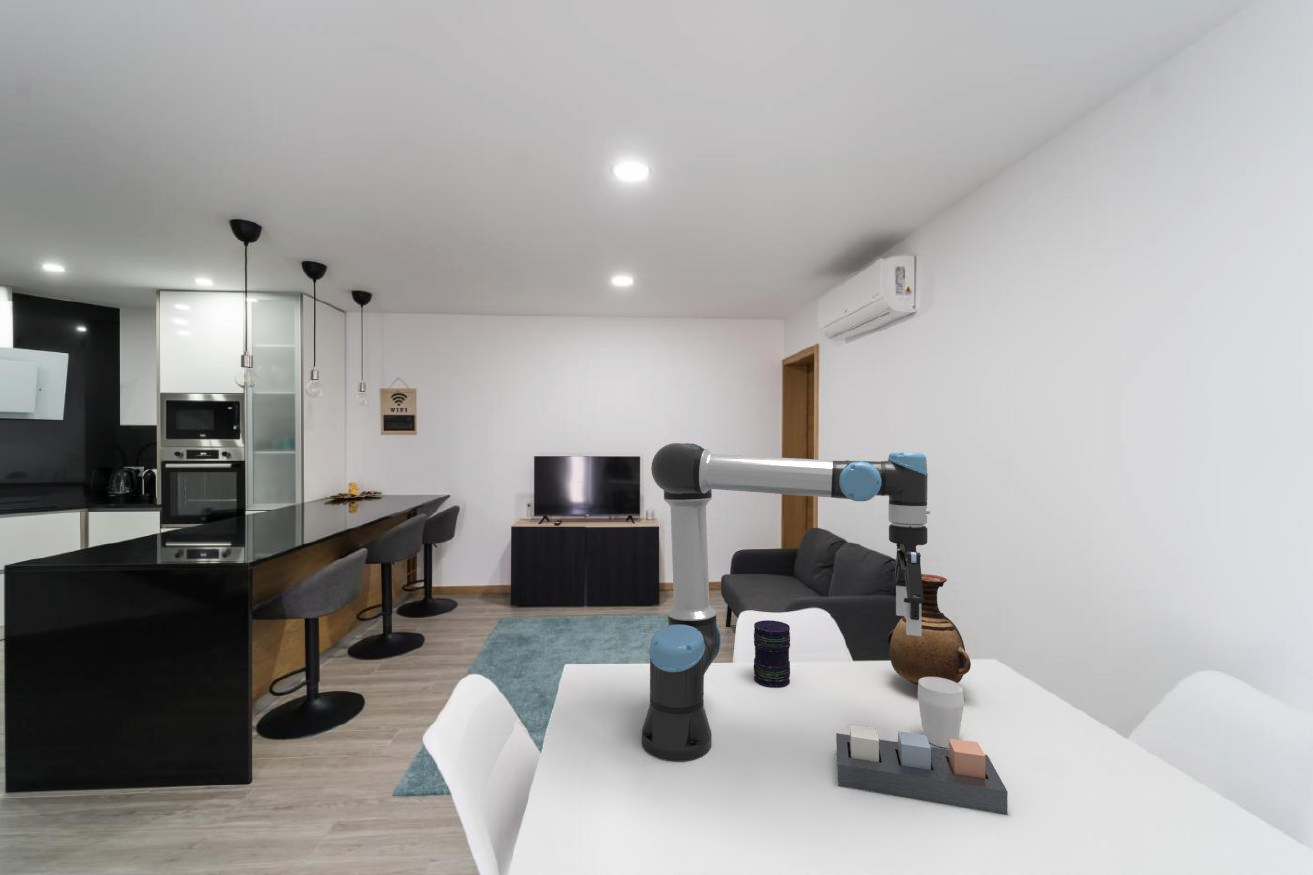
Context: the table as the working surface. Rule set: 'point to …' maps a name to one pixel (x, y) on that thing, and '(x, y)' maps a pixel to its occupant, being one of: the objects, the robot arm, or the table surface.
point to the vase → (929, 642)
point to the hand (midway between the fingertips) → (907, 624)
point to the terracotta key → (966, 758)
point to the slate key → (914, 750)
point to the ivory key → (864, 743)
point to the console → (920, 778)
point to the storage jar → (772, 654)
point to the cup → (940, 709)
